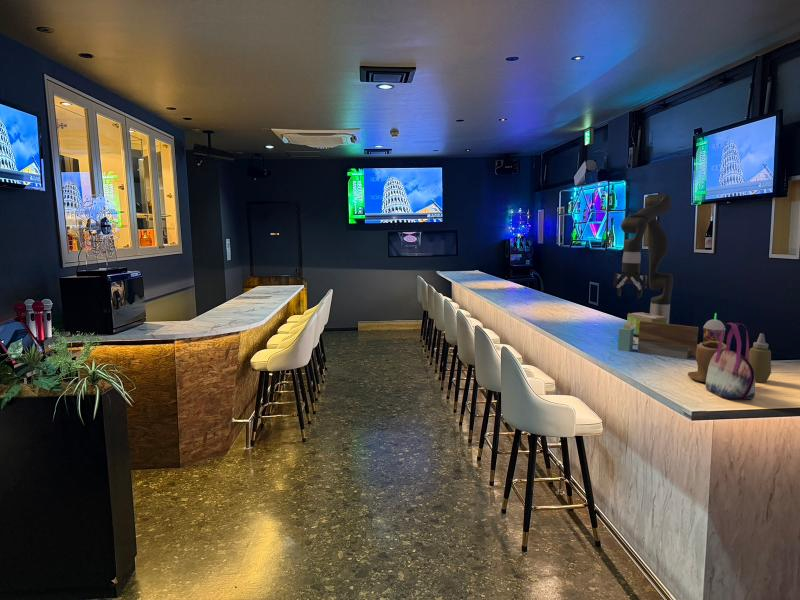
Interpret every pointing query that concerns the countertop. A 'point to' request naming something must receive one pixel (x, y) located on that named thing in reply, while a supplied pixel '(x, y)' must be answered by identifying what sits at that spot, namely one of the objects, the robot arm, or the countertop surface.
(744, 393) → the handbag
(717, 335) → the smoothie
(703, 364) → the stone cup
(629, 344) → the cabinet
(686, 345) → the wall board
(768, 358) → the squeeze bottle
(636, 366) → the countertop surface
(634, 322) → the tea box
